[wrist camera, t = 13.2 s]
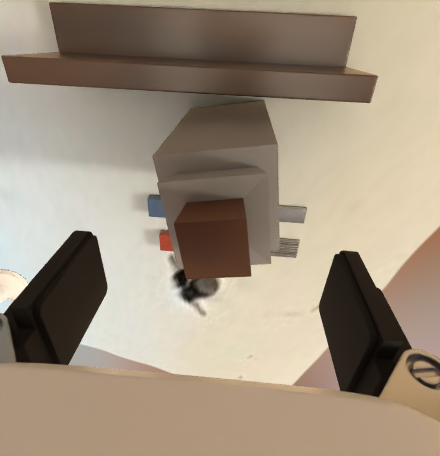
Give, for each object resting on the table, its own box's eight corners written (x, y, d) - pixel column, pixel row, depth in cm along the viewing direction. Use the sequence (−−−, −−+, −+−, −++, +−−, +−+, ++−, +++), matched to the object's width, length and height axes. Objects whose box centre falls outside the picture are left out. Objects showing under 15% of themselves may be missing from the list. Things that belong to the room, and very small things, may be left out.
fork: (161, 228, 35) (159, 233, 34) (299, 238, 35) (300, 243, 34) (162, 246, 37) (160, 251, 36) (295, 257, 36) (296, 262, 35)
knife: (149, 194, 33) (147, 198, 32) (306, 205, 32) (308, 210, 32) (151, 212, 34) (148, 216, 33) (302, 223, 34) (304, 227, 33)
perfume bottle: (201, 177, 31) (159, 305, 16) (190, 108, 28) (125, 190, 13) (266, 171, 31) (288, 301, 15) (264, 100, 27) (288, 177, 12)
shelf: (53, 3, 24) (-20, -12, 18) (354, 17, 24) (398, 7, 17) (67, 72, 27) (8, 82, 20) (338, 87, 26) (370, 103, 19)
